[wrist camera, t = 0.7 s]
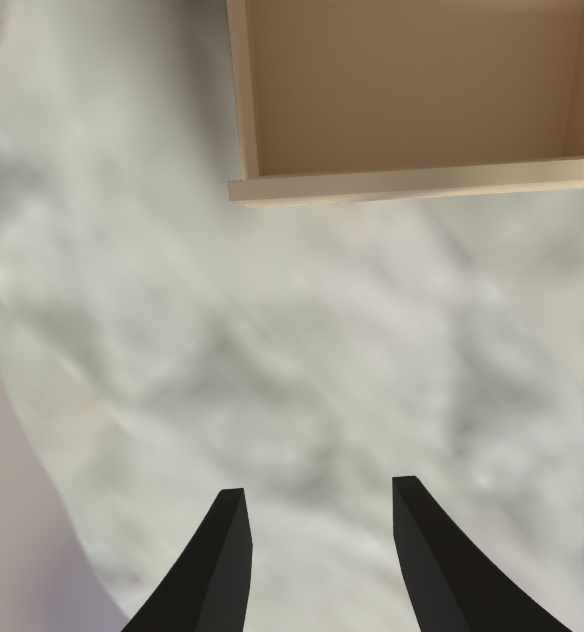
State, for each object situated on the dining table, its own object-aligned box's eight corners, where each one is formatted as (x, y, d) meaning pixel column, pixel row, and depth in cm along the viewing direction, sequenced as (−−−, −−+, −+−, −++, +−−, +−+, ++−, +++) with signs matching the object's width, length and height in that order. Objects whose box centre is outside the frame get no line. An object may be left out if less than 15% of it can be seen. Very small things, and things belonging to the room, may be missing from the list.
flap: (769, 147, 10) (765, 168, 10) (627, 170, 15) (625, 185, 15) (228, 181, 11) (229, 201, 11) (248, 193, 15) (249, 208, 15)
